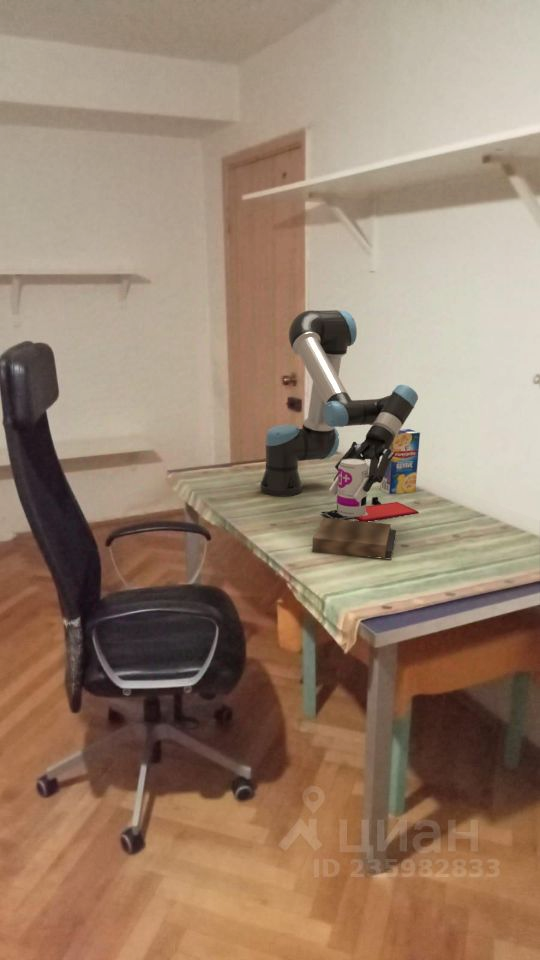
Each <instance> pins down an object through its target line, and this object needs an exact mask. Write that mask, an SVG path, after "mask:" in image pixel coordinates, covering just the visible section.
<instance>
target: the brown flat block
mask: <svg viewBox="0 0 540 960" xmlns="http://www.w3.org/2000/svg"><path fill="white" fill-rule="evenodd" d="M391 525H392V524H391V523H384V522H383V523H382V522H374V521H372V522H363V521H358V520H353V519H332V518H330V517H323V519H321V522H320V524H319V526H318V527H317V529H316V531H315V533H314V535H313V537H312V549H311V550H312V552H315V553H326V554H334V555H343V556H351V555H356V556H355V557H360V556H368V557H367V558H369V556H370V557H381V558H391V559H392V557H393V552H392V551H394V547H393V546H394V545H395V542H394V541H396V536H397V533H396V532H397V529H392V526H391ZM391 556H392V557H391Z"/></svg>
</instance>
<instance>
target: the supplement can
mask: <svg viewBox="0 0 540 960" xmlns="http://www.w3.org/2000/svg"><path fill="white" fill-rule="evenodd" d="M340 460H341V459H340ZM337 473H338V489H337V494H336V495H337V496H336V510H337V511H338V512H339V514H341V515H343V516H348V517H358V516H362V515H363V514H364V513H365V512H366V506H367V493H368V492H366V493H365V495H364V496H363V498H362V500H361V501H360V502H357V501H356V499H355V498H354V497H353V496H354V495H355V493H356V491H357V490H358V488H359V487H360V485H361V483H362V482H363V480H364V478H368V477H367V476H368V475H369V466H368V464H367V461H366V460H360V459H343V460H341V463H340V465H339V466H338V470H337ZM368 479H369V478H368Z"/></svg>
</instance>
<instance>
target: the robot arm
mask: <svg viewBox="0 0 540 960" xmlns="http://www.w3.org/2000/svg"><path fill="white" fill-rule="evenodd" d="M357 329H358V328H357V324H356V321H355V319H354V317H353V315H352V314H351V313H350V312H348V311H345V310H338V309H337V310H335V309H334V310H333V309H331V310H311V309H310V310H305V311H302V312H301V313H299V314H298V315H297V316H296V317H295V318H294V319H293V320H292V322H291V324H290V327H289V330H288V340H289V345H290V348H292V351H293V353H294V354H296V355H297V356H299V357H300V359H301V361H302V363H303V365H304V366H305V367H304V368H305V369H306V371H307V372H308V374H309V376H310V378H311V380H312V385H311V386H312V387H311V391H310V400H309V407H308V412H307V414H308V415H307V418H305V419H304V420H303V421H302V425H301V427H302V428H300V427H299V426H298V425H296V424H282V425H276V426H273V427H271V428H270V429H268V430H267V431H266V438H265V471H264V474H263V476H262V479H261V482H260V492H261V493H262V494H266V495H269V496H275V497H289V496H295V495H299V494H301V493H302V492H303V484H302V480H301V477H300V476H301V475H300V472H299V462H302V461H303V462H304V461H313V460H315V461H317V460H319V461H320V460H324V459H330V458H331V457H333V456H335V454H336V453H337V452H338V449H339V446H340V437H339V436H340V435H339V431H338V430H337V427H339V428H344V427H350V426H351V427H352V426H366V425H369V426H370V428H369V430H368V431H367V433H366V435H365V439H364V441H363V442H361V443H357V442H356V441H353V442H352V444H351V445H350V448H349V449H348V450H347V451H346V452H345V454H344V455H343V456H342V457H341V458H340V459H339V461H337V463H336V465H334V466H335V467H334V468H335V470H337V471H338V466H339V465H340V463H341V460H343V459H360V460H364V461H366V460H370V464H369V467H368V476H367V477H368V478H364V480H363V482H362V483H361V485H360V487H359V488H358V490H357V491H356V493H355V495H354V496H353V497H354V498H355V499H356V501H357V502H360V501H361V500H362V498H363V496H364V495H365V493H366V492H367V493H368V492H369V491H370V490H371V489H372V487H373V485H374V484H375V483H379V484H381V482H382V480H383V477H384V475H385V472H386V470H387V467H388V465H389V462H390V460H391V459H392V458H393V456H394V454H393V452H392V451H391V449H389V447H390V446H391V444H392V442H393V441H394V438H395V437H396V436H397V434H398V432H399V431H400V430H402V427H403V425H404V424H405V422H406V421H407V419H408V418H409V416H410V414H411V413H412V411H413V409H415V406H416V403H418V402H417V401H418V400H419V395H418V393H417V391H416V390H415V389H414V388H412V387H410V386H409V385H406V384H399V385H397V386H396V387H395V388H394V389H393V390H392V393H391V394H389V395H387V396H384V397H380V398H374V399H355V400H353V399H351V397H350V395H349V394H348V392H347V389H346V388H345V386H344V384H343V383H342V381H341V379H340V377H339V374H340V367H341V361H342V357H344V356H345V355H347V352H348V347H350V346H352V345H354V343H355V342H356V340H357V334H358V332H357V331H358V330H357ZM387 449H388V450H387ZM382 455H383V456H382ZM380 458H381V459H380ZM337 489H338V472H337V474H336V475H335V477H334V478H333V483H332V485H331V486H330V487H329V489H328V490H329V491H330V493H331V494H332V495H333V496H336V495H337Z"/></svg>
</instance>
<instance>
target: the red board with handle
mask: <svg viewBox="0 0 540 960" xmlns="http://www.w3.org/2000/svg"><path fill="white" fill-rule="evenodd" d="M320 513H322V514H323V515H325V516H326V517H327V518H331V519H341V520H347V519H351V518H355V519H354V520H356V519H357V520H356V521H358V520H359V521H363V522H368V521H372V522H376V521H375V520H378V521H382V520H383V519H384V520H388V518H389V519H394V518H393V517H395V518H399V516H401V517H406V516H405V515H407V516H410V515H411V514H412V515H417V514H420V512H419V510H415V509H414V508H411V507H409V506H407V505H405V504H403V503H400V502H398V501H395V502H388V503H387V502H386V503H381V502H380V501H379V497H378V496H374V497H371V505H366V512H365V513H364V514H363V515H362V516H358V517H348V516H343V515H341V514H339V512H338V511H337V509H334V510H333V509H332V510H327V511H325V510H324V511H321V512H320ZM412 515H411V516H412ZM384 520H383V521H384Z"/></svg>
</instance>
